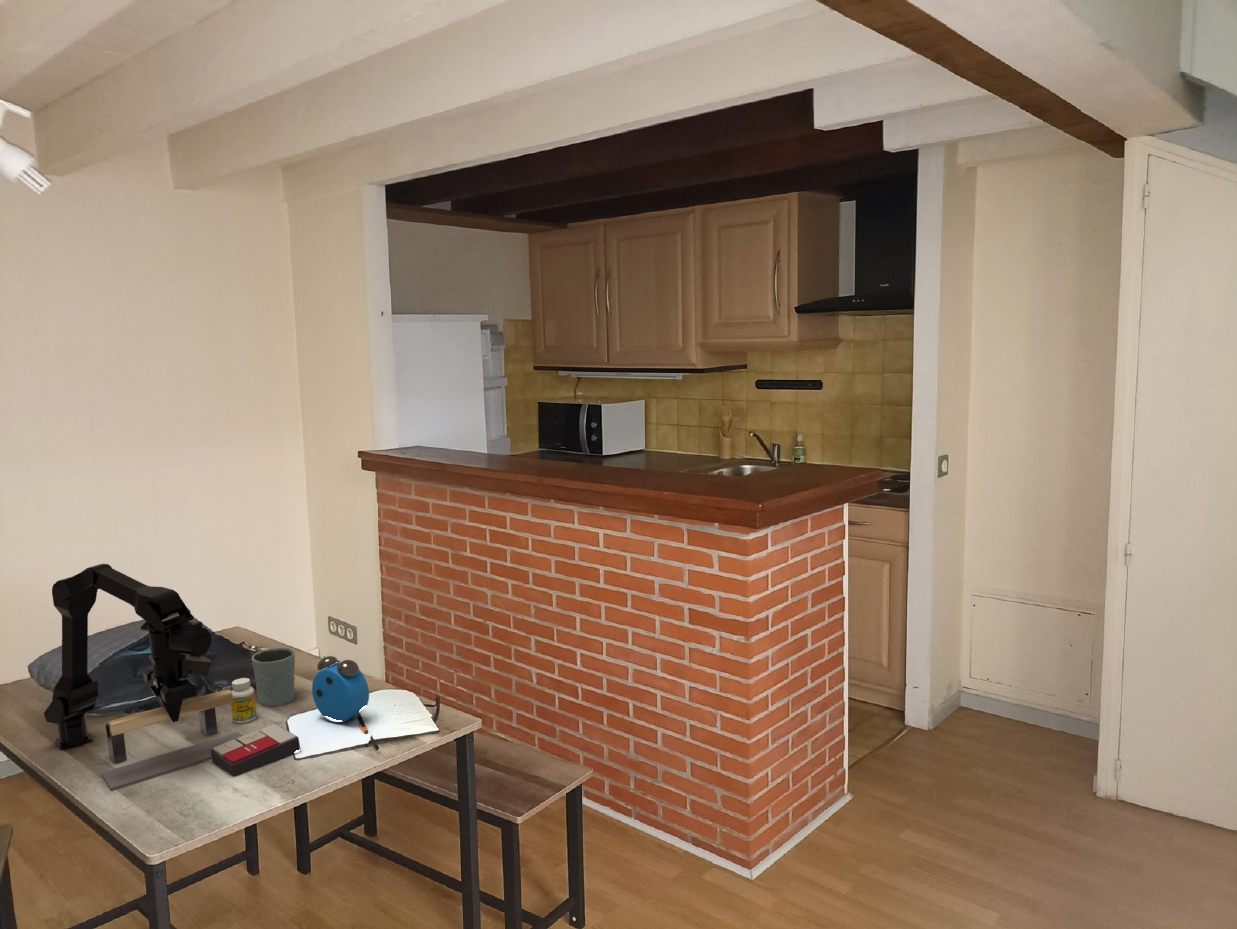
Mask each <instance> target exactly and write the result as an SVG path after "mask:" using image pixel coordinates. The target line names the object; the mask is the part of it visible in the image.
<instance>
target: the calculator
mask: <svg viewBox="0 0 1237 929" xmlns="http://www.w3.org/2000/svg"><path fill="white" fill-rule="evenodd" d="M299 739H300V737H299V736H297V735H295V734H294V733H292V732H290V731H289V730H287V729H286V728H283V727H282V726H280V725H279V724H277V723H273V724H271V725H269V726H266V727H264V728H261V729H259V730H254V731H251V732H249V733H246V734H244V735H242V736H241V737H239V738H237V740H231V741H229V742H226V743H224V744H221V745H219V746H216V747H214V748H213V750H211V757H212V759H211V762H212V764H213V763H214V764H215V765H216V766H217V767H218V768H220V769H221V770H223V771H224V772H226V773H227V774H228V775H230V777H238V776H241V775H242V774H245V773H248V772H251V771H253V770H256V769H259V768H262V767H263V766H266V765H269V764H271V763H273V762H275V761H277V760H280V759H285V758H288V757H290V756H293V755H295V754H294V752H295V751H296V750H299V749H300V750H301V745H300V740H299ZM258 767H259V768H258Z"/></svg>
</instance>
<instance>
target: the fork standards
mask: <svg viewBox="0 0 1237 929" xmlns="http://www.w3.org/2000/svg"><path fill="white" fill-rule="evenodd" d="M197 713H198V719H199V728H200V731H201V732H202V734H204V735H205V736H206V737H210V736H213V735H215V734H216V735H217V734H218V732H219V731H218V724H217V723H218V722H217V714H216V707H215V708H211V709H207V710H204V711H200V712H197ZM104 725H105V731H106V739H107V748H108V755H109V758H110V759H111V761H112V762H113V764H114V765H115V764H120V763H122V762H123V763H124V762H126V761H127V759H128V758H127V752H126V751H127V750H126V744H125V741H126V740H125V733H121V734H118V735H114V736H112V734H111V733H110V728H109V722H108V723H105V724H104Z"/></svg>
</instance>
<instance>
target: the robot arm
mask: <svg viewBox="0 0 1237 929" xmlns="http://www.w3.org/2000/svg"><path fill="white" fill-rule="evenodd" d="M99 589H100V590H101V591H103V592H104V593H107V594H109V595H111V596H113V597H115V598H117V599H119V600H121V601H123V602H125V603H126V604H129V605H130V606H132V607H133V608H134V611H135V614H136V615H137V616H139V617H140V618H141V619H143V620H144V621H145V622H144V623H143V624H142V625H141V626H140V630H141V631H148V640H149V646H150V654H148V658H149V661H150V662H151V664H152V665H148V666H146V667H145V669H144V670H143V671H142V675H143V680H144V682H145V683H147V684H149V683H151V681H153V685H150V686H149V689H150V690H151V691H152V693H153V695H154V696H155V698H156V700H157V701H158V704H159V705H160V706H161V707H164V708H165V710H166V712H167V713H168V715H169V717H170V718H171V722H172V723H176V722H178V721H179V719H180V717H179V714H180V709H181V704H182V701H183V700H187V699H191V698H195V697H196V696H198V687H197V685H196V684H195V683H194V682H193V681H192V680H190V679H188V678H189V677H190V676H189V675H199V676H202V677H209V675H210V672H211V668H212V665H213V664H212V663H213V661H212V660H211V659H210V658H208V657H206V656H204V654H206V653H207V652H208V651H209V649H210V648H211V645H212V641H213V638H212V636H213V635H212V634H211V633H210V631H209V630H208V629H207V628H206V627H203V622H202V621H194V616H193V614H192V613H191V612H192V611H191V610H190V609H189V608H188V607H187V605H186V604H185V602H184V601H183V599H182V598H181V596H180V594H179V593H178V592H177V591H176V590H174V589H173V588H172V589H171V588H168V587H164V586H152V585H151V586H150V585H147V584H144V583H143V582H141V581H138V580H137V579H135V578H133V577H130V576H128V575H126V574H124V573H122V572H121V571H119V570H116V569H114V568H113V567H112V566H111V565H110V564H108V563H100V564H96V565H93V566H89V567H86V568H85V569H84V570H82V571H81V572H79V573H77V574H75V575H73V576H70V577H67V578H63V579H59V580H57V581H56V582H55V583H53V585H52V588H51V596H52V603H53V607H54V608H55V609H56V611H57V612H59V614H60V616H61V675H60V678H59V679H58V681H57V682H56V684H55V686H54V688H53V692H52V698H51V699H52V701H51V703H49V705H48V707H47V708H46V709H45V710H44V712H43V716H44V719H45V721H46V723H50V724H55V725H56V727H57V734H58V738H55V743H56V745H57V746H58V748H59V750H65V749H68V748H73V747H77V746H78V745H79V746H80V745H83V744H86V743H89V742H93V737H92V735H91V734H90V732H89V731H88V724H87V716H86V714H87V713H88V712H92V711H94V710H95V706H96V702H97V698H98V697H99V692H98V691H99V690H98V687H99V683H98V681H97V680H95V679H93V678H92V677H91V675H90V674H89V672H88V665H89V664H88V661H89V660H88V658H89V656H88V652H89V646H88V645H89V644H88V643H89V640H88V639H89V630H88V629H89V628H88V627H89V614H90V612H91V610H92V608H93V607H94V605H95V603H96V602H97V596H98V590H99ZM168 618H169V619H168ZM166 619H167V620H166Z"/></svg>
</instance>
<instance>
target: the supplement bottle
mask: <svg viewBox="0 0 1237 929" xmlns="http://www.w3.org/2000/svg"><path fill="white" fill-rule="evenodd" d="M231 688H232V690H230V691H231V692H232V697H233V702H232V703H230V706H231V715H232V716H231V717H232V722H234V723H236V724H246V723H250V722H253V721H254V720H255V719H256V718H257V717H258V715H257V714H258V712H257V705H256V704H257V703H256V697H255V696H256V695H255V689H254V687H252V686H251V680H250V678H248V677H241V678H237V679H234V680H232V682H231Z"/></svg>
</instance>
